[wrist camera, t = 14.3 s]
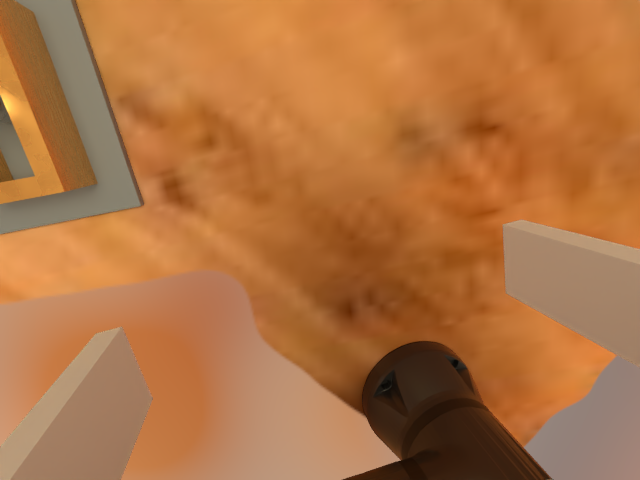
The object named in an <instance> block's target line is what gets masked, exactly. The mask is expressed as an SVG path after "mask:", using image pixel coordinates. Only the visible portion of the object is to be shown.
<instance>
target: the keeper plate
mask: <svg viewBox="0 0 640 480" xmlns="http://www.w3.org/2000/svg"><path fill="white" fill-rule="evenodd" d="M15 1H16V2H18V3H20V4H21V5H23V6H25V7H26V8H28V9H29V10H31V11H33V12H34V14H35V17H36V19H37V22H38V25H39V27H40V30H41V33H42V35H43V38H44V41H45V43H46V46H47V49H48V51H49V54H50V57H51V59H52V62H53V65H54V67H55V70H56V73H57V75H58V78H59V81H60V83H61V86H62V89H63V92H64V94H65V97H66V100H67V102H68V105H69V108H70V110H71V113H72V116H73V118H74V121H75V124H76V126H77V129H78V132H79V134H80V137H81V140H82V142H83V145H84V148H85V150H86V153H87V156H88V158H89V161H90V164H91V166H92V169H93V172H94V174H95V177H96V180H97V182H98V184H94V185H90V186H86V187H82V188H78V189H74V190H70V191H66V192H61V193H56V194H51V195H46V196H40V197H35V198H30V199H24V200H19V201H14V202H9V203H3V204H0V234H3V233H8V232H13V231H18V230H23V229H28V228H33V227H38V226H43V225H48V224H53V223H58V222H63V221H68V220H73V219H78V218H83V217H88V216H93V215H98V214H104V213H109V212H114V211H119V210H124V209H129V208H134V207H139V206H142V205H144V203H143V200H142V197H141V194H140V191H139V188H138V185H137V182H136V179H135V176H134V173H133V170H132V167H131V164H130V161H129V158H128V156H127V153H126V150H125V147H124V144H123V141H122V138H121V135H120V132H119V129H118V126H117V123H116V120H115V117H114V114H113V111H112V108H111V105H110V102H109V99H108V96H107V93H106V90H105V87H104V84H103V81H102V79H101V76H100V73H99V70H98V67H97V64H96V61H95V58H94V55H93V52H92V49H91V46H90V43H89V40H88V37H87V34H86V31H85V28H84V25H83V22H82V19H81V16H80V13H79V10H78V7H77V4H76V2H75V0H15ZM0 150H1V152H2V154H3V156H4V159H5V161H6V163H7V165H8V168H9V170H10V172H11V174H12V177H13V179H14V180H17V179H22V178H28V177H33V176H35V175H34V172H33V170H32V168H31V165H30V163H29V161H28V158H27V156H26V154H25V151H24V149H23V147H22V144H21V142H20V140H19V137H18V135H17V133H16V130H15V128H14V126H13V124H5V123H0Z"/></svg>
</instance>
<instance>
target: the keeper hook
mask: <svg viewBox="0 0 640 480" xmlns="http://www.w3.org/2000/svg"><path fill="white" fill-rule="evenodd" d="M0 123H5V124H13V123H12V121H11V119H10V116H9V114H8V112H7V109H6V107H5V105H4V102H3V100H2V98H1V95H0Z"/></svg>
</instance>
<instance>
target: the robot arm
mask: <svg viewBox="0 0 640 480" xmlns="http://www.w3.org/2000/svg"><path fill="white" fill-rule="evenodd" d="M503 241H504V263H505V285H506V294H508V295H510V296H512V297H514V298H515V299H517V300H519V301H521V302H523V303H524V304H526V305H528V306H530V307H532V308H533V309H535V310H537V311H539V312H541V313H542V314H544V315H546V316H548V317H550V318H551V319H553V320H555V321H557V322H559V323H560V324H562V325H564V326H566V327H568V328H569V329H571V330H573V331H575V332H577V333H578V334H580V335H582V336H584V337H586V338H587V339H589V340H591V341H593V342H595V343H596V344H598V345H600V346H602V347H604V348H605V349H607V350H609V351H611V352H613V353H614V354H616V355H618V356H620V357H622V358H623V359H625V360H627V361H629V362H631V363H632V364H634V365H636V366H638V367H640V249H637V248H633V247H629V246H625V245H621V244H617V243H613V242H609V241H605V240H601V239H597V238H593V237H589V236H585V235H581V234H577V233H573V232H569V231H565V230H561V229H557V228H553V227H549V226H545V225H541V224H537V223H533V222H529V221H525V220H518V221H514V222H510V223H507V224H503ZM152 400H153V398H152V396H151V393H150V391H149V389H148V386H147V384H146V382H145V379H144V377H143V375H142V372H141V370H140V367H139V365H138V363H137V360H136V358H135V356H134V353H133V351H132V349H131V346H130V344H129V342H128V339H127V337H126V335H125V332H124V330H123V327H119V328H115V329H111V330H108V331H104V332H100V333H97V334H95V335H94V336H93V338H92V339H91V340H90V341H89V342H88V344H87V345H86V346H85V347H84V348H83V349H82V351H81V352H80V353H79V354H78V355H77V357H76V358H75V359H74V360H73V361H72V362H71V364H70V365H69V366H68V367H67V368H66V370H65V371H64V372H63V373H62V374H61V375H60V377H59V378H58V379H57V380H56V381H55V382H54V384H53V385H52V386H51V387H50V388H49V390H48V391H47V392H46V393H45V394H44V395H43V397H42V398H41V399H40V400H39V401H38V402H37V404H36V405H35V406H34V407H33V409H31V411H30V412H29V413H28V414H27V416H26V417H25V418H24V419H23V420H22V421H21V422H20V424H19V425H18V426H17V427H16V428H15V430H14V431H13V432H12V433H11V434H10V436H9V437H8V438H7V439H6V440H5V441H4V442H3V444H2V445H1V446H0V480H121V478H122V475H123V473H124V470H125V468H126V465H127V463H128V460H129V458H130V455H131V453H132V450H133V447H134V445H135V442H136V440H137V437H138V435H139V432H140V430H141V427H142V425H143V422H144V420H145V417H146V415H147V412H148V409H149V407H150V405H151V402H152ZM362 404H363V409H364V413H365V415H366V417H367V419H368V422H369V424H370V426H371V428H372V430H373V431H374V433H375V434H376V435H377V436H378V437H379V438H380V439H381V440H382V441H383V442H384V443H385V444H386V445H387V446H388V447H389V448H390V449H391V450H392V452H393V453H395V454H396V456H398V458H399V459H400V460H401V461H398V462H394V463H391V464H388V465H385V466H382V467H379V468H376V469H373V470H370V471H368V472H365V473H362V474H359V475H355V476H352V477H349V478H346V479H343V480H553V479H552V478H551V477H550V476H549V475H548V474H547V473H546V472H545V471H544V470H543V468H541V466H540V465H539V464H538V463H537V462H536V461H535V460H534V459H533V458H532V456H531V455H530V454H529V453H528V452H527V451H526V450H525V449H524V448H523V447H522V446H521V444H520V443H519V442H518V441H517V440H516V439H515V438H514V437H513V436H512V435H511V434H510V433H509V431H508V430H507V429H506V428H505V427H504V426H503V425H502V424H501V423H500V422H499V421H498V419H497V418H496V417H495V416H494V415H493V414H492V413H491V412H490V411H489V410H488V409H487V407H486V406H485V405H484V403H483V401H482V399H481V396H480V394H479V392H478V389H477V387H476V385H475V383H474V380H473V378H472V376H471V373H470V371H469V369H468V368H467V366H466V365H465V364H464V362H463V361H462V360H461V359H460V358H459V357H458V356H457V355H456V354H455V353H454V352H453V351H452V350H450V349H449V348H447V347H446V346H444V345H441V344H438V343H434V342H416V343H412V344H408V345H405V346H402V347H400V348H398V349H396V350H394V351H393V352H391V353H389V354H388V355H387V356H385V357H384V358H383V359H382V360H381V361H380V362H379V363H378V364H377V365H376V366H375V367H374V369H373V370H372V372H371V373H370V375H369V377H368V378H367V381H366V383H365V386H364V389H363V395H362Z"/></svg>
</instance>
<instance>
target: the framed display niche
mask: <svg viewBox="0 0 640 480" xmlns="http://www.w3.org/2000/svg"><path fill="white" fill-rule="evenodd" d="M0 95H1V98H2V100H3V102H4V105H5V107H6V109H7V112H8V114H9V116H10V119H11V121H12V123H13V126H14V128H15V130H16V133H17V135H18V137H19V140H20V142H21V144H22V147H23V149H24V151H25V154H26V156H27V158H28V161H29V163H30V165H31V168H32V170H33V172H34V175H35V176H33V177H28V178H22V179H17V180H14V179H13V177H12V174H11V172H10V170H9V168H8V165H7V163H6V161H5V159H4V156H3V154H2V152H1V150H0V204H3V203H9V202H14V201H19V200H24V199H30V198H35V197H40V196H46V195H51V194H56V193H61V192H66V191H70V190H74V189H78V188H82V187H86V186H90V185H94V184H98V182H97V180H96V177H95V174H94V172H93V169H92V166H91V164H90V161H89V158H88V156H87V153H86V150H85V148H84V145H83V142H82V140H81V137H80V134H79V132H78V129H77V126H76V124H75V121H74V118H73V116H72V113H71V110H70V108H69V105H68V102H67V100H66V97H65V94H64V92H63V89H62V86H61V83H60V81H59V78H58V75H57V73H56V70H55V67H54V65H53V62H52V59H51V57H50V54H49V51H48V49H47V46H46V43H45V41H44V38H43V35H42V33H41V30H40V27H39V25H38V22H37V19H36V17H35V14H34V12H33V11H31V10H29V9H28V8H26V7H25V6H23V5H21V4H20V3H18V2H16V1H15V0H0Z"/></svg>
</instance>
